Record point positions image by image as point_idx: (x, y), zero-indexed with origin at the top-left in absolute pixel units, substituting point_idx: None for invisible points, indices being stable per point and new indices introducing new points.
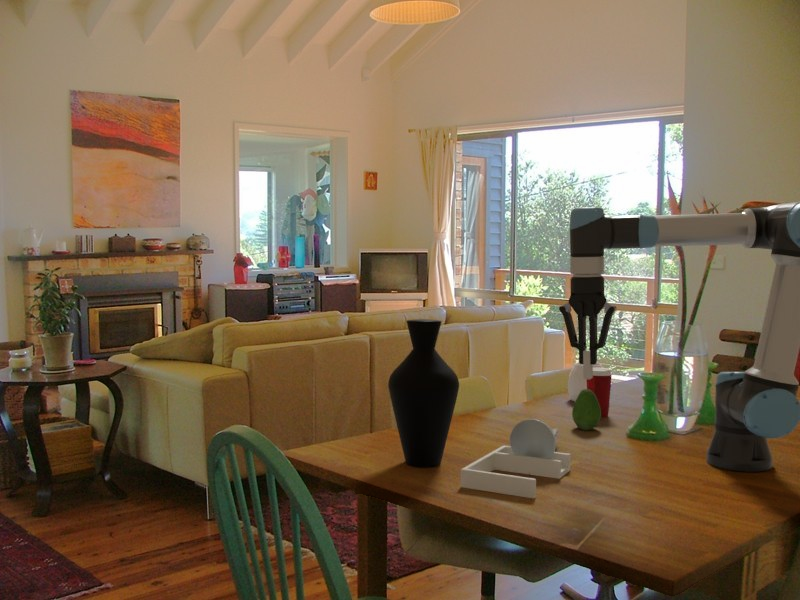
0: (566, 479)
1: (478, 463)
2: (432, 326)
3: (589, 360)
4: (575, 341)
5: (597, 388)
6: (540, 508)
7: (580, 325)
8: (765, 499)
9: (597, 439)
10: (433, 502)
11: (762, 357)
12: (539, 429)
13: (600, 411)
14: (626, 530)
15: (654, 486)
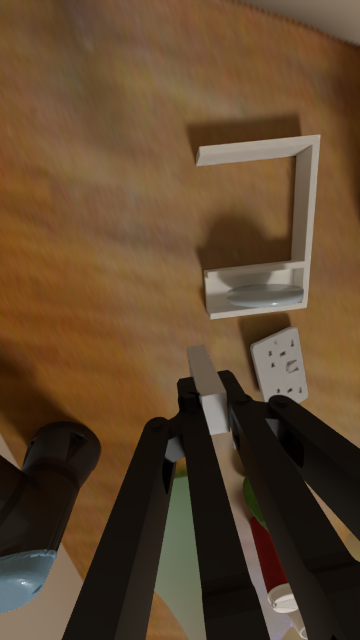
0: (195, 273)
1: (308, 194)
2: None
3: (194, 375)
4: (280, 421)
5: (274, 560)
6: (169, 116)
7: (305, 514)
8: None
9: (229, 447)
10: (312, 38)
11: None
12: (260, 296)
13: (245, 500)
14: (32, 88)
15: (96, 308)
